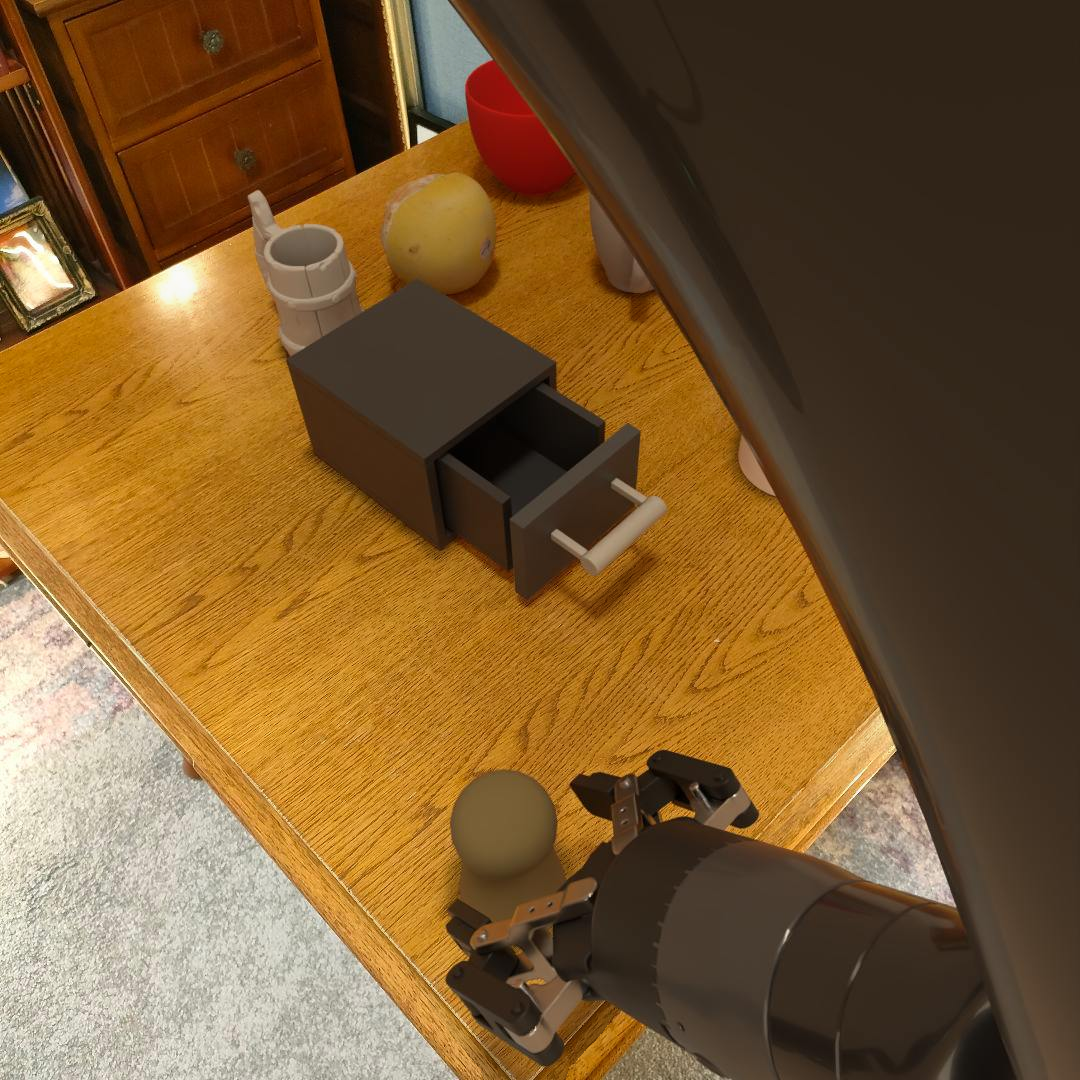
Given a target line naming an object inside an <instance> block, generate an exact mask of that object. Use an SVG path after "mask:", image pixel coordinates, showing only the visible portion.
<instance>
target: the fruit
mask: <svg viewBox="0 0 1080 1080" xmlns="http://www.w3.org/2000/svg"><path fill="white" fill-rule="evenodd" d="M383 215H384V216H383V220H382V222H381V227H380V230H379V233H380V242H381V245H382V248H383V250H384V253H385V256H386V261H387V264H388V266H389V268H390V269H391V270H392V272H393V273H394V274H395V276H397V278H399V280H400V281H402V282H403V283H404V284H405V285H407V284H409V283H411V282H412V281H414V280H415V279H419V280H420V281H422V282H424V283H425V284H427V285H429V286H430V287H432V288H434V289H435V290H437V291H439V292H440V293H442V294H444V295H445V296H446V295H453V294H458V293H461V292H464V291H466V290H469V289H470V288H472V287H474V286H475V285H477V284H478V283H479V281H481V280H482V278H483V277H484V276H485V274H486V272H487V271H488V269H489V267H490V266H491V263H492V261H493V259H494V256H495V250H496V245H497V239H498V237H497V236H498V235H497V234H498V232H497V223H496V216H495V212H494V208H493V205H492V202H491V200H490V197H489V196H488V194H487V193H486V191H485V190H484V188H483V187H482V186H481V184H480V183H479V182H478V181H476V180H475V179H473V178H472V177H470V176H469V175H467V174H464V173H461V172H457V171H456V172H455V171H454V172H449V173H446V174H442V173H434V174H433V173H432V174H428V175H426V176H422V177H419V178H416V179H413V180H411V181H408V182H406V183H404V184H401V185H400V186H399V187H398V188H396V189H395V190H394V191H393V193H392V195H391V197H390V199H389V200H388V201H386V202H385V210H384V214H383Z"/></svg>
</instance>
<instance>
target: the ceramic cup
mask: <svg viewBox="0 0 1080 1080" xmlns="http://www.w3.org/2000/svg"><path fill="white" fill-rule="evenodd" d="M464 91H465V92H464V94H465V95H464V96H465V105H466V112H467V118H468V122H469V127H470V131H471V136H472V139H473V142H474V145H475V147H476V149H477V151H478V154H479V156H480V158H481V160H482V161H483V163H484V165H485V166H486V167H487V169H488V170H489V171H490V172H491V173H492V175H493V176H494V177H495V178H496V179H497V180H498V181H499V182H501V183H502V184H503V185H504V186H505V187H506V188H507V189H508V190H509V191H511V192H513V193H515V194H519V195H523V196H530V197H531V196H535V197H536V196H544V195H548V194H551V193H554V192H556V191H559V190H560V189H561V188H562V187H563V186H564V185H565V184H566V182H567V181H568V180H569V179H571V177H572V176H573V175H574V174H575V173H576V171H575V170H574V168H573V167H572V165H571V164H570V163H569V161H568V160H567V158H566V157H565V155H564V154H563V152H562V151H561V150H560V148H559V147H558V145H557V144H556V142H555V141H554V140H553V138H552V137H551V135H550V134H549V132H548V131H547V130H546V128H545V127H544V126H543V124H542V123H541V122H540V120H539V119H538V118H537V116H536V115H535V114H534V113H533V111H532V110H531V109H530V107H529V106H528V105H527V103H526V102H525V101H524V100H523V98H522V97H521V96H520V94H519V93H518V92H517V90H516V89H515V88H514V86H513V85H512V84H511V83H510V81H509V80H508V79H507V77H506V76H505V75H504V73H503V72H502V71H501V69H500V68H499V67H498V66H497V64H496V63H495V62H494V60H493V59H491V60H488V61H486V62H484V63H482V64H480V65H479V66H477V67H476V68H475V69H474V70H472V72H471V73H470V74H469V75H468V76H467V79H466V80H465V84H464Z"/></svg>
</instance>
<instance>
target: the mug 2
mask: <svg viewBox="0 0 1080 1080" xmlns="http://www.w3.org/2000/svg"><path fill="white" fill-rule="evenodd" d="M588 191H589V190H588ZM588 198H589V199H588V200H589V217H590V218H589V219H590V226H591V227H590V228H591V234H592V238H593V242H594V247H595V250H596V253H597V255H598V259H599V260H600V263H601V265H602V267H603V268H604V271H605V274H606V278H607V280H608V283H610V284H611V286H613V287H614V288H615V289H616V290H617V289H618V290H620V291H622V292H626V293H634V294H644V293H647V292H650V291H653V290H654V288H653V286H652V285H651V283H650V282H649V280H648V278H647V277H646V275H645V274H644V272H643V271H642V269H641V267H640V266H639V264H638V263H637V261H636V259H635V258H634V256H633V255H632V253H631V252H630V250H629V248H628V247H627V245H626V244H625V242H624V240H623V239H622V237H621V236H620V235H619V233H618V232H617V230H616V229H615V227H614V226H613V224H612V223H611V222H610V220H609V219H608V217H607V216H606V214H605V213H604V211H603V210H602V209H601V207H600V206H599V204H598V203H597V201H596V200H595V199H594V197H593V196H592V194H591V193H590V191H589V197H588Z"/></svg>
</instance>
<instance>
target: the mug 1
mask: <svg viewBox="0 0 1080 1080" xmlns="http://www.w3.org/2000/svg"><path fill="white" fill-rule="evenodd" d="M247 199H248V203H249V205H250V209H251V215H252V217H251V219H252V232H253V234H252V235H253V241H254V242H253V243H254V247H255V249H254V256H255V259H256V262H257V266H258V268H259V271H260V273H261V276H262V278H263V281H264V284H265V286H266V288H267V291H268V292H269V294H270V296H271V298H272V299H273V300H274V303H275V306H276V310H277V314H278V317H279V321H280V322H279V326H278V328H277V334H278V336H279V339H280V341H281V345H282V346H283V347H284V349H285V350H286V351H287V353H288V355H289V357H291V356H292V355H294V354H295V353H297V352H299V351H300V350H302V349H304V348H305V347H307V346H308V345H310V344H312V343H313V342H315V341H317V340H318V339H320V338H321V337H323V336H325V335H326V334H328V333H329V332H331V331H333V330H334V329H336V328H338V327H339V326H341V325H342V324H344V323H346V322H347V321H349V320H351V319H352V318H354V317H355V316H357V315H359V314H360V313H362V312H364V311H365V309H364V308H363V306H361V303H360V299H359V296H358V295H359V294H358V292H357V288H356V283H357V280H358V274H357V271H356V270H355V269H356V268H354V265H353V264H352V262H351V261H350V260H349V256H348V252H347V249H346V246H345V242H344V239H343V236H342V234H340V233H339V232H338V231H337V230H336V229H335V228H333V227H330V226H327V225H323V224H317V223H304V224H303V226H302V225H301V224H295V225H291V226H289V227H286V228H282V227H281V226H279V225H278V224H277V222H276V220H275V217H274V215H273V212H272V210H271V207H270V204H269V202H268V201H267V198H266V197H265V195H264V194H263V193H262V191H260V190H259V189H257V190H255V191H253V192H251V193H250V194H248V195H247Z"/></svg>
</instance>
